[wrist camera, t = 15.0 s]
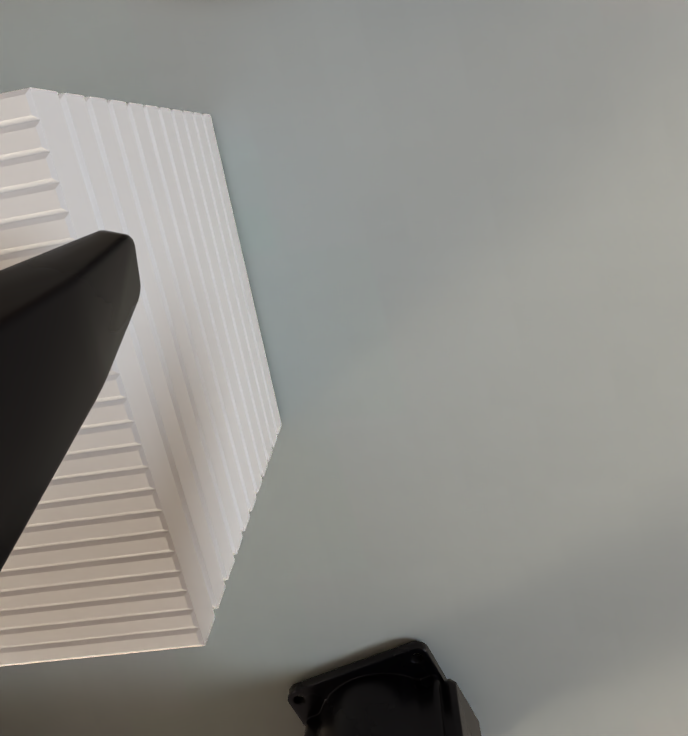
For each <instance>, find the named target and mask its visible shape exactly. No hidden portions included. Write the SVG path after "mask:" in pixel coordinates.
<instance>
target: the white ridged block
mask: <svg viewBox="0 0 688 736" xmlns="http://www.w3.org/2000/svg"><path fill="white" fill-rule="evenodd" d="M100 230H107V231H112V232H117V233H123V234H127V235H129V236H130V237H131V238H132V239H133V241H134V244H135V248H136V255H137V262H138V269H139V276H140V284H141V289H140V296H139V300H138V303H137V305H136V308H135V310H134V312H133V315H132V317H131V320H130V322H129V325H128V327H127V330H126V332H125V335H124V337H123V340H122V342H121V345H120V347H119V350H118V352H117V355H116V357H115V360H114V362H113V365H112V367H111V370H110V372H109V374H108V377H107V379H106V381H105V383H104V386H103V388H102V390H101V392H100V393H99V395H98V397H97V399H96V401H95V403H94V405H93V407H92V408H91V410H90V412H89V414H88V415H87V417H86V419H85V421H84V423H83V424H82V426H81V428H80V430H79V432H78V433H77V435H76V437H75V439H74V441H73V442H72V444H71V446H70V448H69V450H68V451H67V453H66V455H65V457H64V459H63V460H62V462H61V464H60V466H59V467H58V469H57V471H56V473H55V475H54V476H53V478H52V480H51V482H50V484H49V485H48V487H47V489H46V491H45V493H44V494H43V496H42V498H41V500H40V502H39V503H38V505H37V507H36V509H35V511H34V512H33V514H32V516H31V518H30V519H29V521H28V523H27V525H26V527H25V528H24V530H23V532H22V534H21V536H20V537H19V539H18V541H17V543H16V545H15V546H14V548H13V550H12V552H11V554H10V555H9V557H8V559H7V561H6V563H5V564H4V566H3V568H2V570H1V571H0V666H10V665H20V664H30V663H40V662H50V661H59V660H69V659H79V658H89V657H99V656H109V655H118V654H128V653H138V652H148V651H158V650H168V649H177V648H187V647H197V646H205V645H206V642H207V639H208V636H209V634H210V631H211V628H212V625H213V622H214V619H215V614H214V610H213V609H216V608H219V605H220V602H221V599H222V596H223V593H224V590H225V587H226V586H225V583H224V580H228V579H229V576H230V573H231V570H232V567H233V564H234V561H235V560H234V556H233V555H234V554H237V553H238V550H239V547H240V544H241V541H242V538H243V536H242V533H241V532H245V530H246V527H247V524H248V521H249V518H250V515H249V512H250V511H252V509H253V506H254V504H255V501H256V494H255V493H258V492H259V489H260V486H261V483H262V477H264V475H265V472H266V469H267V466H268V464H267V462H268V461H269V460H270V457H271V454H272V452H273V451H272V448H274V446H275V443H276V440H277V436H276V435H278V434H279V431H280V428H281V426H282V424H281V420H280V415H279V411H278V406H277V402H276V398H275V393H274V389H273V385H272V380H271V376H270V372H269V367H268V363H267V359H266V354H265V350H264V345H263V341H262V337H261V332H260V328H259V324H258V319H257V315H256V311H255V306H254V302H253V298H252V293H251V289H250V285H249V280H248V276H247V271H246V267H245V263H244V258H243V254H242V250H241V245H240V241H239V237H238V232H237V228H236V224H235V219H234V215H233V210H232V206H231V202H230V197H229V193H228V189H227V184H226V180H225V176H224V171H223V167H222V163H221V158H220V154H219V150H218V145H217V141H216V136H215V132H214V128H213V123H212V119H211V115H209V114H201V113H196V112H193V113H192V112H190V111H181V110H176V109H170V108H163V107H158V108H157V106H150V105H143V106H142V104H137V103H125V102H124V101H117V100H107V101H106V99H104V98H97V97H91V96H89V97H85V98H84V95H78V94H71V93H60V94H58V93H57V91H51V90H45V89H38V88H31V87H29V88H24V89H20V90H15V91H10V92H5V93H1V94H0V270H2V269H5V268H7V267H10V266H12V265H15V264H17V263H20V262H22V261H25V260H27V259H30V258H32V257H35V256H37V255H40V254H42V253H45V252H47V251H50V250H52V249H54V248H57V247H59V246H62V245H64V244H67V243H69V242H72V241H74V240H77V239H79V238H82V237H84V236H87V235H89V234H92V233H94V232H97V231H100Z"/></svg>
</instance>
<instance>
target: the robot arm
mask: <svg viewBox="0 0 688 736" xmlns="http://www.w3.org/2000/svg"><path fill="white" fill-rule="evenodd" d="M140 289H141V284H140V276H139V269H138V262H137V255H136V248H135V244H134V241H133V239H132V238H131V237H130V236H129V235H127V234H123V233H117V232H112V231H107V230H100V231H97V232H94V233H92V234H89V235H87V236H84V237H82V238H79V239H77V240H74V241H72V242H69V243H67V244H64V245H62V246H59V247H57V248H54V249H52V250H50V251H47V252H45V253H42V254H40V255H37V256H35V257H32V258H30V259H27V260H25V261H22V262H20V263H17V264H15V265H12V266H10V267H7V268H5V269H2V270H0V571H1V570H2V568H3V566H4V564H5V563H6V561H7V559H8V557H9V555H10V554H11V552H12V550H13V548H14V546H15V545H16V543H17V541H18V539H19V537H20V536H21V534H22V532H23V530H24V528H25V527H26V525H27V523H28V521H29V519H30V518H31V516H32V514H33V512H34V511H35V509H36V507H37V505H38V503H39V502H40V500H41V498H42V496H43V494H44V493H45V491H46V489H47V487H48V485H49V484H50V482H51V480H52V478H53V476H54V475H55V473H56V471H57V469H58V467H59V466H60V464H61V462H62V460H63V459H64V457H65V455H66V453H67V451H68V450H69V448H70V446H71V444H72V442H73V441H74V439H75V437H76V435H77V433H78V432H79V430H80V428H81V426H82V424H83V423H84V421H85V419H86V417H87V415H88V414H89V412H90V410H91V408H92V407H93V405H94V403H95V401H96V399H97V397H98V395H99V393H100V392H101V390H102V388H103V386H104V383H105V381H106V379H107V377H108V374H109V372H110V370H111V367H112V365H113V362H114V360H115V357H116V355H117V352H118V350H119V347H120V345H121V342H122V340H123V337H124V335H125V332H126V330H127V327H128V325H129V322H130V320H131V317H132V315H133V312H134V310H135V308H136V305H137V303H138V300H139V296H140ZM414 653H419V654H420V655H413V654H414ZM298 695H301V696H302V697H300V696H298ZM288 702H289V704H290V705H291V707H292V708H293V710H294V711H295V712H296V714H297V715H298V717H299V718H300V720H301V721H302V723H303V724H304V725H305V735H304V736H481V731H480V726H479V721H478V719H477V718H476V716H475V714H474V712H473V711H472V709H471V707H470V706H469V704H468V702H467V700H466V699H465V697H464V695H463V694H462V692H461V690H460V688H459V687H458V685H457V683H456V682H454V681H453V680H451V679H448V680H447V679H446V677H445V675H444V673H443V672H442V670H441V668H440V667H439V665H438V663H437V662H436V660H435V658H434V656H433V655H432V653H431V651H430V650H429V648H428V646H427V645H426V644H425V643H423V642H420V641H413V642H410V643H407V644H404V645H401V646H399V647H396V648H393V649H390V650H388V651H385V652H382V653H379V654H377V655H374V656H371V657H368V658H366V659H363V660H360V661H357V662H354V663H352V664H349V665H346V666H343V667H341V668H338V669H335V670H332V671H330V672H327V673H324V674H321V675H319V676H316V677H313V678H310V679H307V680H305V681H302V682H299V683H296V684H294V685H293V686H291V688H290V689H289V695H288Z"/></svg>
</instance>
